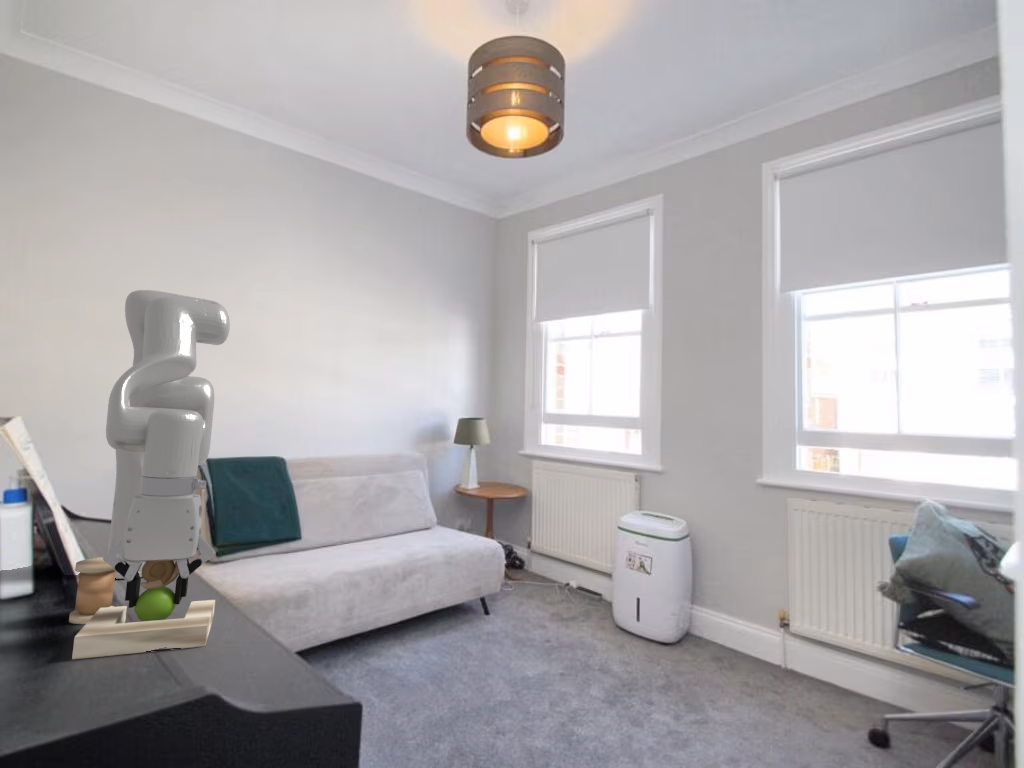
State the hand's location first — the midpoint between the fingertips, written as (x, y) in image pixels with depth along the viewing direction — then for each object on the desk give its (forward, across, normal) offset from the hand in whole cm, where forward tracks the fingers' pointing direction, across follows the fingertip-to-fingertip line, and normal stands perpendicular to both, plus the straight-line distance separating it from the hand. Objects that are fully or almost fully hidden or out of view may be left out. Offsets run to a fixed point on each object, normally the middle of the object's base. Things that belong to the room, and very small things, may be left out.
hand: (156, 602), depth 84 cm
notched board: (+4, 0, +2) cm, 5 cm away
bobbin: (+4, +10, -9) cm, 14 cm away
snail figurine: (+3, 0, 0) cm, 3 cm away
